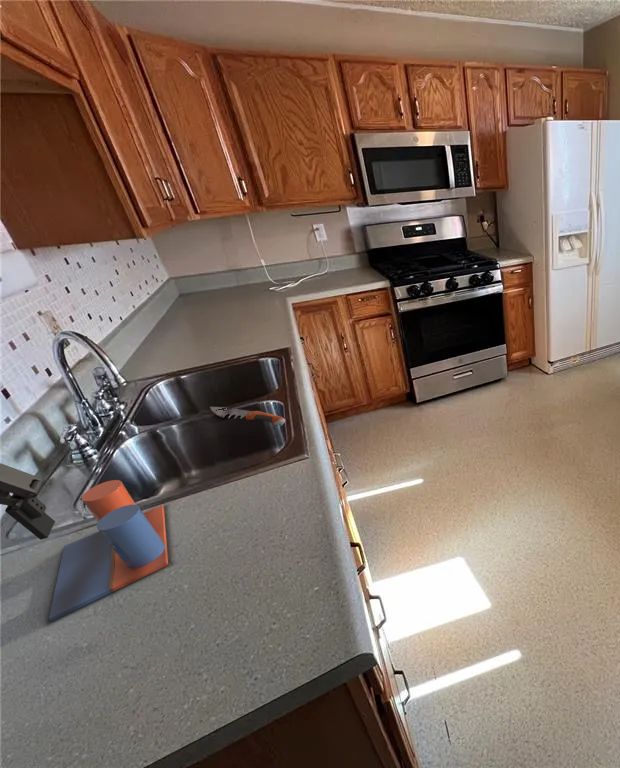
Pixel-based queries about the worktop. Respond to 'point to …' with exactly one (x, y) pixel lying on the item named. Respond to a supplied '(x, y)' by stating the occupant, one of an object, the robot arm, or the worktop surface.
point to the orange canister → (106, 498)
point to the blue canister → (131, 536)
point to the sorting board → (99, 569)
